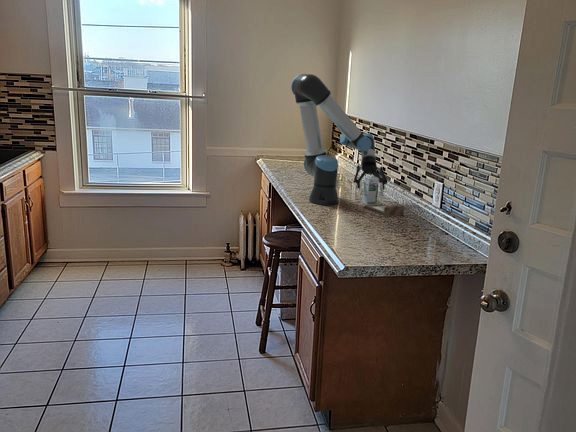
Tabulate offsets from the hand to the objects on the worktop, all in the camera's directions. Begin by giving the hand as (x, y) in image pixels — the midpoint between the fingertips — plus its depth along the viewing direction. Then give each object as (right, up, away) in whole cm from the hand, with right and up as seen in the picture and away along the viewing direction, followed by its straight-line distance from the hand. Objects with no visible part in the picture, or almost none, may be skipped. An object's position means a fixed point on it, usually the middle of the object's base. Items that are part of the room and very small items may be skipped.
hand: (371, 194), depth 264 cm
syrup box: (-1, -5, +4) cm, 7 cm away
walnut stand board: (+4, -9, -8) cm, 13 cm away
